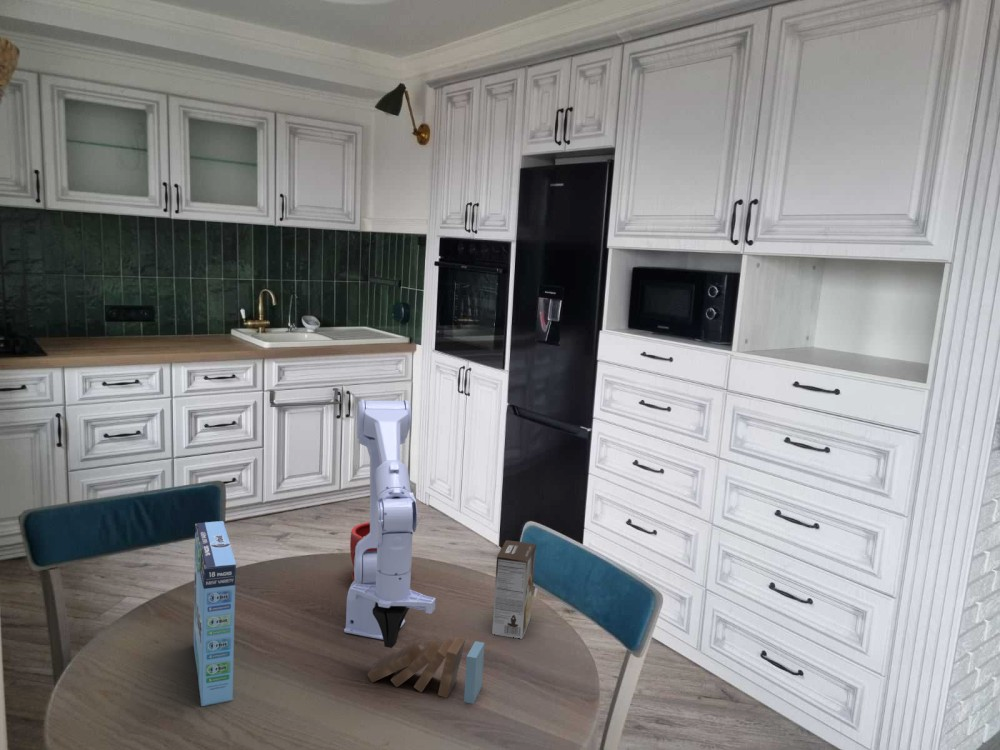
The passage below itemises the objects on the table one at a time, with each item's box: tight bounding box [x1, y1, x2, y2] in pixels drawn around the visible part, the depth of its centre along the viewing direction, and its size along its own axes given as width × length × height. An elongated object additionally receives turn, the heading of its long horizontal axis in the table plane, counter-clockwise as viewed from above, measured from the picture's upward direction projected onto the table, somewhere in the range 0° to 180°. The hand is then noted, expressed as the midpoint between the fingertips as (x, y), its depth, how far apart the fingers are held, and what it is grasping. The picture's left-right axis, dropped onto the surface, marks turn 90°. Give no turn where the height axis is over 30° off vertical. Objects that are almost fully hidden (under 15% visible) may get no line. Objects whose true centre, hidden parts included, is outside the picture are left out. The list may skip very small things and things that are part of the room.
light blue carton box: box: [193, 520, 237, 707], centre depth 119 cm, size 20×5×23 cm, turn 26°
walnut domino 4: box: [437, 636, 466, 699], centre depth 119 cm, size 2×5×8 cm, turn 166°
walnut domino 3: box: [413, 636, 454, 693], centre depth 120 cm, size 2×5×8 cm, turn 166°
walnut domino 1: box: [367, 641, 421, 684], centre depth 122 cm, size 2×5×8 cm
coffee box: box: [491, 539, 537, 640], centre depth 141 cm, size 9×6×16 cm
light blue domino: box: [463, 641, 485, 705], centre depth 118 cm, size 2×5×8 cm, turn 166°
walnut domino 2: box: [390, 639, 441, 688], centre depth 121 cm, size 2×5×8 cm
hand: (390, 644), depth 121 cm, fingers closed
